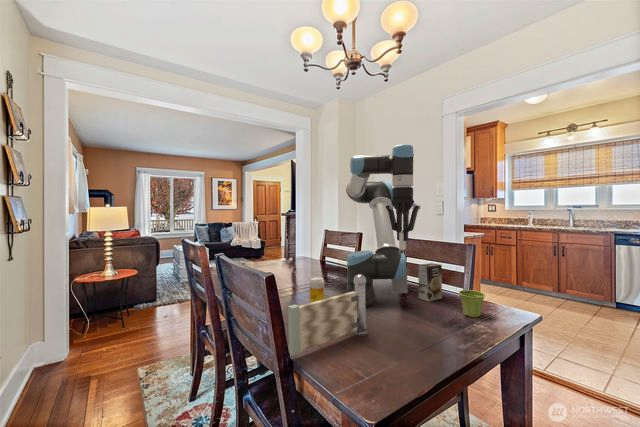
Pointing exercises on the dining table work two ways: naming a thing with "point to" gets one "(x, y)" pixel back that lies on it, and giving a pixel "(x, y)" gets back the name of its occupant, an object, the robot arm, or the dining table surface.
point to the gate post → (360, 304)
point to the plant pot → (472, 302)
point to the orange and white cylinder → (316, 289)
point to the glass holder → (400, 284)
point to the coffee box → (430, 281)
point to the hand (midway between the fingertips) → (402, 249)
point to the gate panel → (321, 321)
